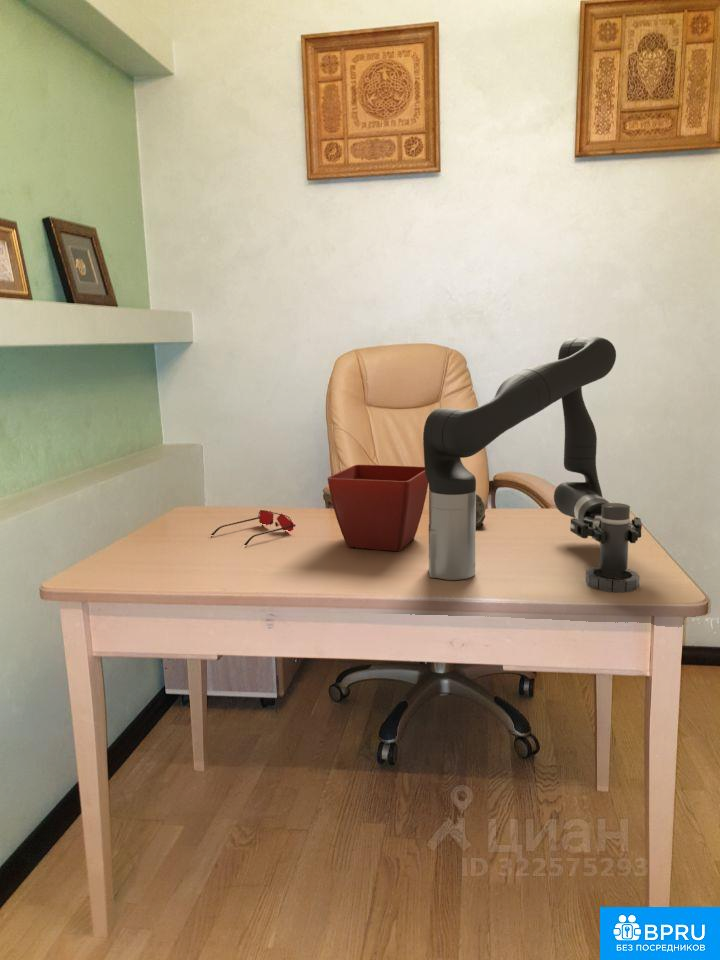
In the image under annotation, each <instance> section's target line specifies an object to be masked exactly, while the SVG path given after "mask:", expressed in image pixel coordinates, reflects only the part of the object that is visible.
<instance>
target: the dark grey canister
mask: <svg viewBox="0 0 720 960" xmlns="http://www.w3.org/2000/svg"><path fill="white" fill-rule="evenodd" d="M630 510H631V506H630V505H629V504H626V503H619V502H609V503H606V504H603V505H602V513H601V529H602V530H603V531H604V532H605V544H601V543H600V542H599V545H600V546H599V567H600V568H601V569H604V570H607V571H624V570H626V569H628V560H629V541H628V539H629V523H630V521H631V517H630V514H631V513H630V512H631V511H630Z"/></svg>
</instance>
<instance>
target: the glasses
mask: <svg viewBox="0 0 720 960" xmlns="http://www.w3.org/2000/svg"><path fill="white" fill-rule="evenodd" d="M274 515H278V516H277V517H276V520H277V521H275V523H274ZM257 516H258V517H254V518H248V519H244V520H241V521H237V522H233V523H228V524H224V525H220V526H219V527H217V528H216V529H215V530H214V531H213V532H212V533H211V534H210V535H213V536H214V535H215V534H216V533H217V532H218V531H219V530H220V529H222V528H225V527H228V526H233V525H237V524H242V523H247V522H251V521H254V520H258V522H259V524H260V523H262V524H266V526H268V525H270V526H271V525H273V524H274V525H275V527H277V528H276V529H272V530H269V531H268V530H267V531H264V532H260V533H257V534H253V535H252V536H250V537H249V538H248V539H247V540H246V542H245V543H244V544H243V545H246V546H247V545H248V544H249V543H250V541H251V540H252V539H253V538H255V537H258V536H261V535H265V534H269V533H274V532H278V531H281V530H283V531H284V530H288V531H290V532H292V531H293V530H294V528H295V527H297V526H296V524H295V523H294V522H293V521H292V519H291V518H290V516H288V515H285V514H283V513H278V512H273V511H272V510H270V511H269V510H265V509H264V510H263V509H260V510H259V511H258V515H257ZM278 526H280V527H281V528H278Z"/></svg>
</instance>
